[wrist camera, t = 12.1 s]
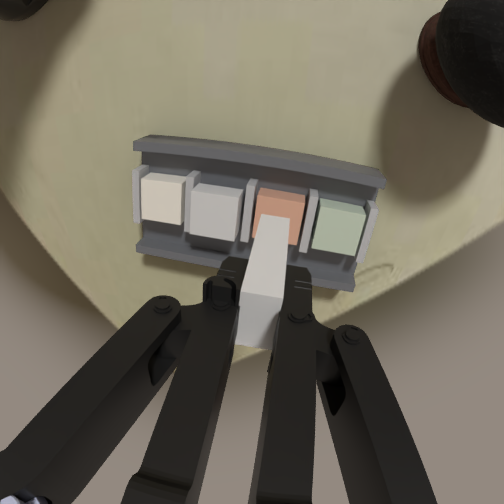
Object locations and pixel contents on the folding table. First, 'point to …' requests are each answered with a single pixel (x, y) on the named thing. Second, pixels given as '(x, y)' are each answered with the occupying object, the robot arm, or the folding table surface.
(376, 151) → the folding table surface
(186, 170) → the keypad board
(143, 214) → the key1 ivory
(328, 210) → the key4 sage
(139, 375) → the robot arm
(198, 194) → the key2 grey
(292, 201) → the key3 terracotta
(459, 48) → the black ball on stand
